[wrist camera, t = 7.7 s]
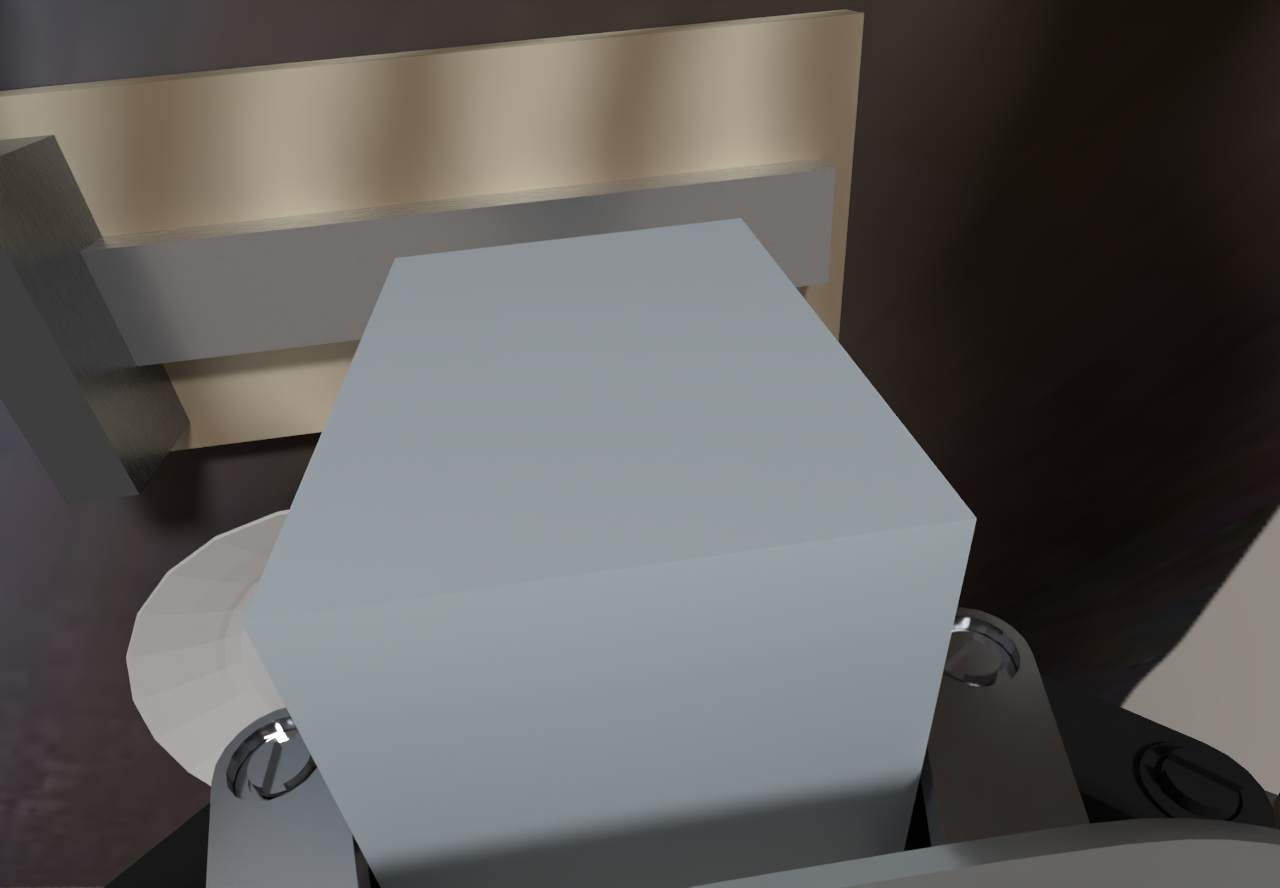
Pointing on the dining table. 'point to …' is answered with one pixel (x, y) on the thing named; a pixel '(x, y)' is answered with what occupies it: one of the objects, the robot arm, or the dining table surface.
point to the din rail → (281, 287)
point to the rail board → (440, 152)
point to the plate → (204, 649)
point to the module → (612, 575)
